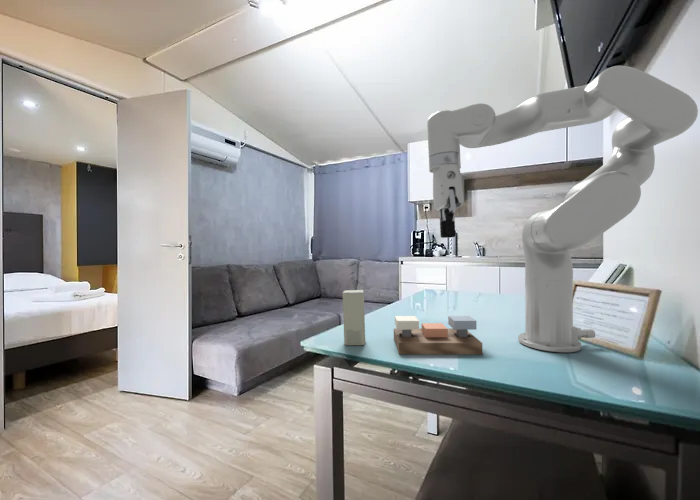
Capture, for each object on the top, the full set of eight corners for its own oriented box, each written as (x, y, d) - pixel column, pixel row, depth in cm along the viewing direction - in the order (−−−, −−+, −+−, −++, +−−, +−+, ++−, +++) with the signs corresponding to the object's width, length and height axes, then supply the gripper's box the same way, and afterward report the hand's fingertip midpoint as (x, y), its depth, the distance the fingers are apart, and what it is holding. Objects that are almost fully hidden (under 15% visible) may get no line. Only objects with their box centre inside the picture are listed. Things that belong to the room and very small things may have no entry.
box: (365, 340, 79) (365, 289, 79) (364, 346, 75) (364, 292, 75) (344, 340, 80) (344, 289, 80) (342, 345, 76) (342, 292, 75)
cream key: (415, 334, 77) (415, 316, 77) (419, 340, 72) (418, 320, 72) (395, 334, 78) (394, 316, 78) (397, 340, 73) (397, 320, 72)
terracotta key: (442, 341, 77) (442, 323, 77) (447, 348, 72) (447, 328, 72) (421, 341, 77) (421, 323, 77) (425, 348, 72) (425, 328, 72)
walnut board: (464, 338, 80) (464, 328, 80) (482, 354, 68) (482, 342, 68) (393, 338, 81) (393, 328, 81) (399, 354, 69) (398, 342, 69)
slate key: (469, 334, 77) (469, 315, 77) (476, 340, 72) (476, 320, 72) (448, 334, 77) (448, 315, 77) (454, 340, 72) (454, 320, 72)
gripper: (470, 154, 71) (474, 235, 71) (450, 170, 86) (453, 237, 86) (437, 156, 71) (441, 237, 71) (423, 172, 86) (426, 239, 86)
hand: (447, 237), depth 79 cm, fingers closed
